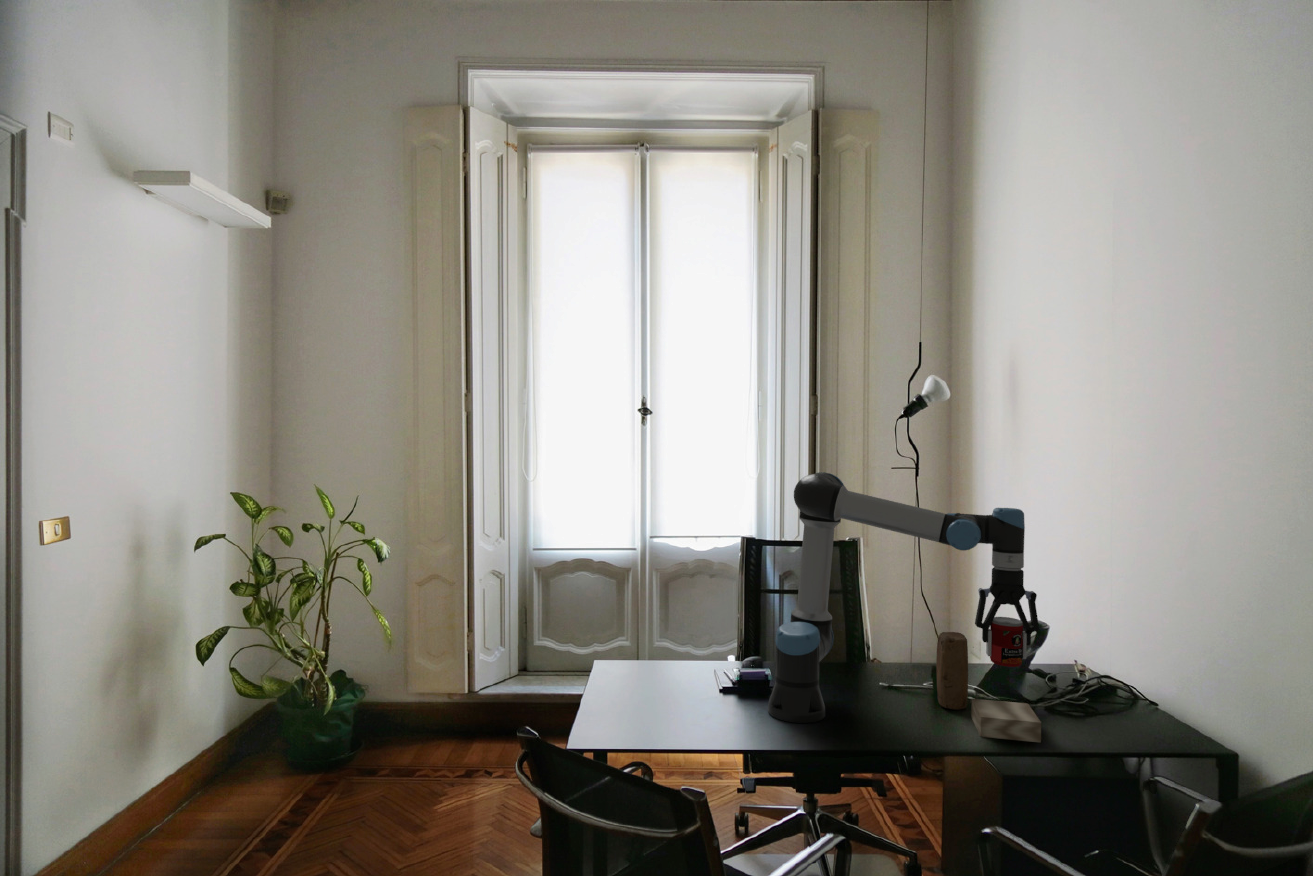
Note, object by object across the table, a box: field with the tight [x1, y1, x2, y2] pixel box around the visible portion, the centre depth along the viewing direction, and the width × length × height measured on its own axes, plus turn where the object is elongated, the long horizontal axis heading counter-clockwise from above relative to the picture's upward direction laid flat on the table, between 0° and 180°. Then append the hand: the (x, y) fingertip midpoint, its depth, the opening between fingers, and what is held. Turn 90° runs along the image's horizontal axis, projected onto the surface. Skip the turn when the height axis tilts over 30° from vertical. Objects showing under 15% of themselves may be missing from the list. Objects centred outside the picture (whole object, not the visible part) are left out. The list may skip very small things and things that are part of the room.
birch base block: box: [970, 698, 1042, 744], centre depth 201 cm, size 14×14×5 cm
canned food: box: [989, 616, 1024, 668], centre depth 201 cm, size 8×8×11 cm
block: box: [935, 631, 969, 711], centre depth 220 cm, size 11×8×20 cm
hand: (1005, 656), depth 201 cm, fingers closed on canned food, 8 cm apart
